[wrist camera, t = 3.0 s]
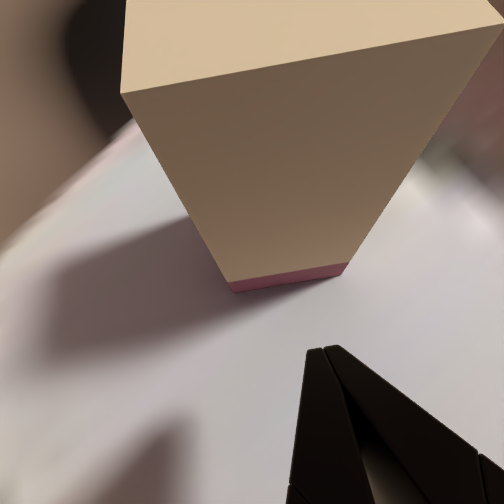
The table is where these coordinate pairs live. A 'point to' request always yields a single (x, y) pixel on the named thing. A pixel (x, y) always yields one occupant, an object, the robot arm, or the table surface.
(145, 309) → the table surface
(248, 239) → the marked block
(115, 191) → the table surface
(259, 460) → the table surface
